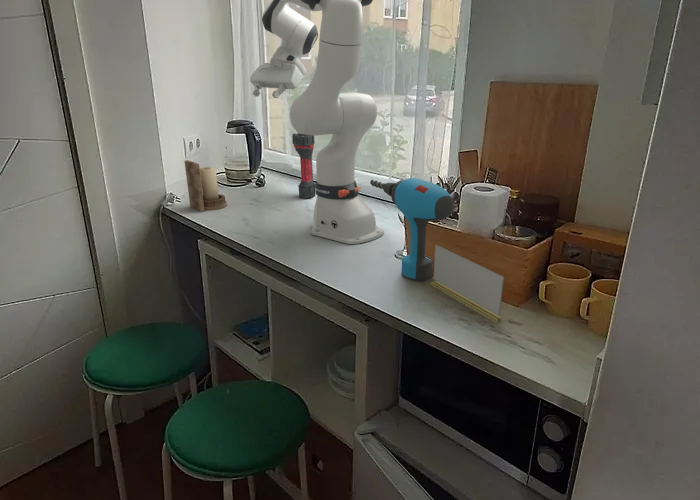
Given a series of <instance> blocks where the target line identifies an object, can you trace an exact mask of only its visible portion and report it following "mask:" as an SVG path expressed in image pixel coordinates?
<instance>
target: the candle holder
mask: <svg viewBox="0 0 700 500" xmlns="http://www.w3.org/2000/svg"><path fill="white" fill-rule="evenodd" d="M184 168H185V169H184V170H185V175H186V183H187V191H188V198H189V206H190V208H191V209H194V210H196V211H198V212H200V213H204V212H205V211H216V210H217V211H218V210H221V209H225V208H226V207H227V206H228V203H227V201H226V195H224V194H222V193H221V194H220V193H219V199H218V200H211V201H205V200H203V192H202V183H201V175H200V169H201V168H200V164H199V163H197V162H195V161H191V160H188V159H187V160H184Z"/></svg>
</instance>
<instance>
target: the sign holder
mask: <svg viewBox="0 0 700 500" xmlns="http://www.w3.org/2000/svg"><path fill="white" fill-rule="evenodd" d="M434 249H435V250H434V266H433V267H434V268H433V280H434V281H431V282H430V283H429V284H430V286H431V285H432V287H433V288H435V289H436V288H437V289H436V290H438V289H439V290H438V291H440V290H441V291H442V293H443V292H444V293H443V294H445V293H446V294H445V295H447V294H448V295H449V296H448V295H447V296H448V297H450V296H451V297H450V298H452V297H453V298H455V299H456V300H455V299H454V300H455V301H457V300H458V301H457V302H459V301H460V302H461V303H460V302H459V303H460V304H462V303H463V304H462V305H464V304H465V305H464V306H466V307H467V306H468V307H467V308H469V309H470V310H472V309H473V312H476V313H477V314H479V315H481V316H483V317H484V318H486V319H488V320H489V321H491V322H493V323H495V324H497V323H500V322H502V321H503V318H502V317H501V316H500V315H501V307H502V300H503V299H502V298H503V292H504V291H503V289H504V280H505V276H503V275H501V274H499V273H497V272H494V271H493V270H490V269H489V268H487V267H485V266H483V265H481V264H478V263H476V262H474V261H472V260H470V259H468V258H466V257H463V256H462V255H459V254H457V253H455V252H453V251H450V250H449V249H447V248H444V247H442V246H440V245H438V244H435V248H434ZM441 291H440V292H441ZM453 298H452V299H453Z"/></svg>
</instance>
